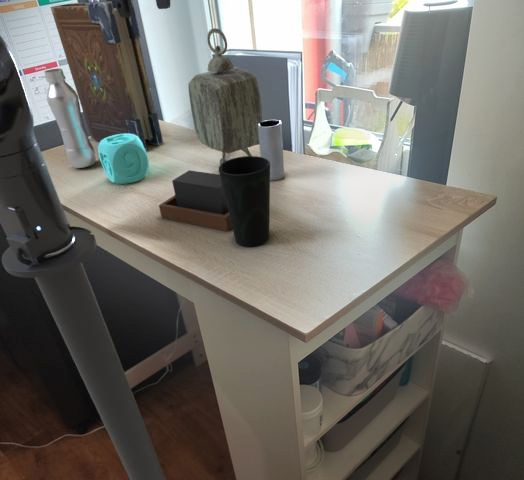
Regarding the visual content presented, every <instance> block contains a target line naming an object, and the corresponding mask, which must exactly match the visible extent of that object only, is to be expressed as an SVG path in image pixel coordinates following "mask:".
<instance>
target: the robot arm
mask: <svg viewBox="0 0 524 480" xmlns="http://www.w3.org/2000/svg"><path fill="white" fill-rule="evenodd" d="M155 3H156V7H157V9H158V10H166V9H169V8H171V0H155ZM115 5H116V9H117V11H118V13H119V15H120V16H121V17H122V18H123V17H132V16H133V15H134V12H133V7H132V3H131V0H115ZM34 125H35V122H34V115H33V110H32V108H31V105H30V101H29V99H28V95H27V93H26V90H25V87H24V83H23V80H22V78H21V74H20V71H19V68H18V65H17V63H16V60H15V58H14V55H13V53H12V51H11V49H10V47H9V46H8V44H7V42H6V41H5V39H4V38H3V36H2V35H1V34H0V225H1V226H2V229H3V231H4V233H5V235H6V237H5V238H6V241H7V243H8V245H9V247H11V249H12V251H13V253H14V254H15V255H16V257H17V259H18V260H19V262H21V263H23V264H26V265H28V266H30V265H31V263H32V262H31V261H33V262H37V263H41V262H43V261H45V260H48V259H52V258H55V257H58V256H60V255H62V254H64V253H66V252H68V251H69V250H71V249H72V248H73V247H74V245H75V243H76V240H75V237H74V235H73V233H72V231H71V230H72V229H71V228H70V226H71V224H70V222H69V221H68V218H67V216H66V213H65V210H64V207H63V205H62V202H61V199H60V198H59V194H58V193H57V189H56V187H55V184H54V182H53V178H52V177H51V174H50V171H49V169H48V166H47V164H46V161H45V158H44V155H43V154H42V153H43V152H42V151H41V148H40V145H39V142H38V140H37V137H36V135H35V130H34V127H35V126H34ZM29 260H30V261H29Z"/></svg>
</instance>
